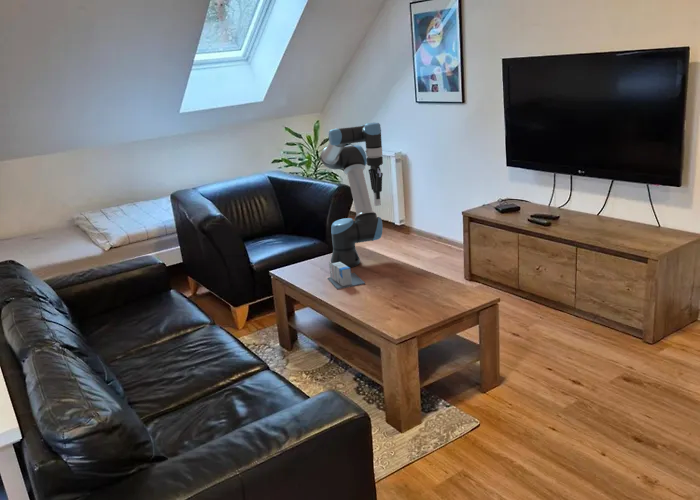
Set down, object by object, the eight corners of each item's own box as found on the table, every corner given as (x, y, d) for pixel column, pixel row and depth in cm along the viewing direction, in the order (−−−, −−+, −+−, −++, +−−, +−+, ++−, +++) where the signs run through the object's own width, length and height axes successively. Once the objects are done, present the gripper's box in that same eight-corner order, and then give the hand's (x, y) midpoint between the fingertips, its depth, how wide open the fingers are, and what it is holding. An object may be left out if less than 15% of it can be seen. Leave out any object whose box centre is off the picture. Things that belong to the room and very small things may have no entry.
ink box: (351, 267, 299) (337, 259, 312) (341, 269, 297) (328, 261, 310) (352, 284, 302) (338, 275, 314) (342, 286, 300) (329, 277, 312)
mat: (327, 278, 313) (327, 277, 313) (354, 273, 317) (354, 272, 317) (337, 289, 299) (337, 288, 298) (365, 284, 303) (365, 282, 302)
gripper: (362, 155, 303) (365, 203, 310) (371, 159, 291) (375, 209, 299) (377, 153, 305) (380, 201, 313) (386, 157, 293) (389, 206, 301)
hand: (377, 205), depth 306 cm, fingers closed
